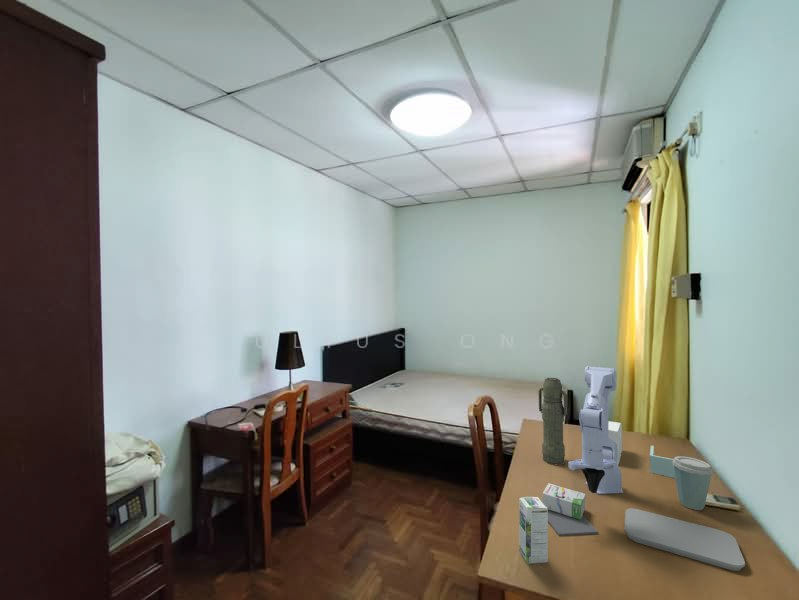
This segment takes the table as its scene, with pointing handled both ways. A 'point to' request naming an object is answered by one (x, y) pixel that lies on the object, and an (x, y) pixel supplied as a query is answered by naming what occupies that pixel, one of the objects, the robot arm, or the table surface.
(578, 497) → the ink box
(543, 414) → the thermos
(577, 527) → the mat
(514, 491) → the table surface
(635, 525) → the tablet
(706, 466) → the disposable coffee cup
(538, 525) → the syrup box
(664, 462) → the l-shaped corner panel
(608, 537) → the table surface
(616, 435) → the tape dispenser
